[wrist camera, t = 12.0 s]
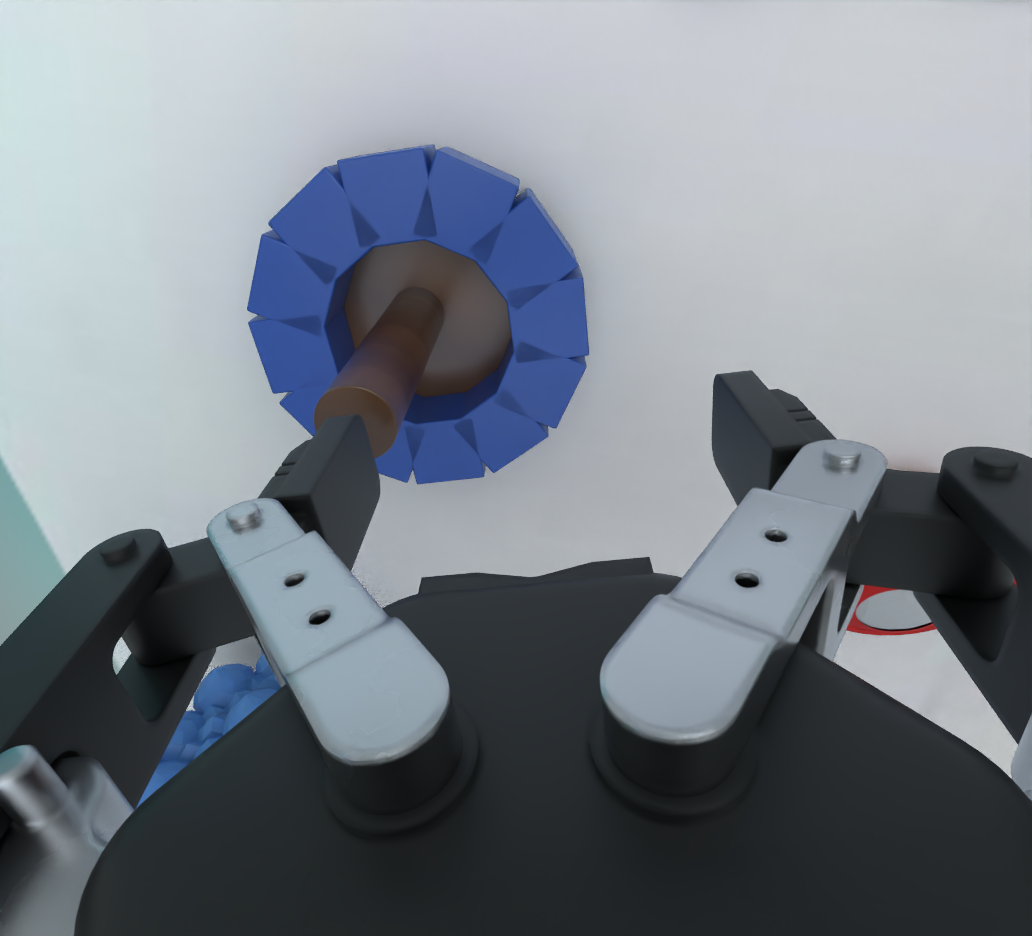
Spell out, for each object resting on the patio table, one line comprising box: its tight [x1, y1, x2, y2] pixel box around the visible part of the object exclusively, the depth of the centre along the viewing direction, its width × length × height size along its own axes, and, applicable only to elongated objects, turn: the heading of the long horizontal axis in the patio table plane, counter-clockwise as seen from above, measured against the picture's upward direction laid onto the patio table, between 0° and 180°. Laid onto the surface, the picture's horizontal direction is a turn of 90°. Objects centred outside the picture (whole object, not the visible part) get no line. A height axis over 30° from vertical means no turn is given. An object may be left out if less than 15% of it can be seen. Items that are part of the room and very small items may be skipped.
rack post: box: [314, 240, 512, 459], centre depth 21 cm, size 8×8×12 cm
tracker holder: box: [846, 578, 1017, 635], centre depth 30 cm, size 12×4×10 cm
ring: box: [247, 144, 589, 484], centre depth 24 cm, size 12×12×3 cm
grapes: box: [136, 653, 280, 808], centre depth 31 cm, size 12×7×12 cm, turn 98°
